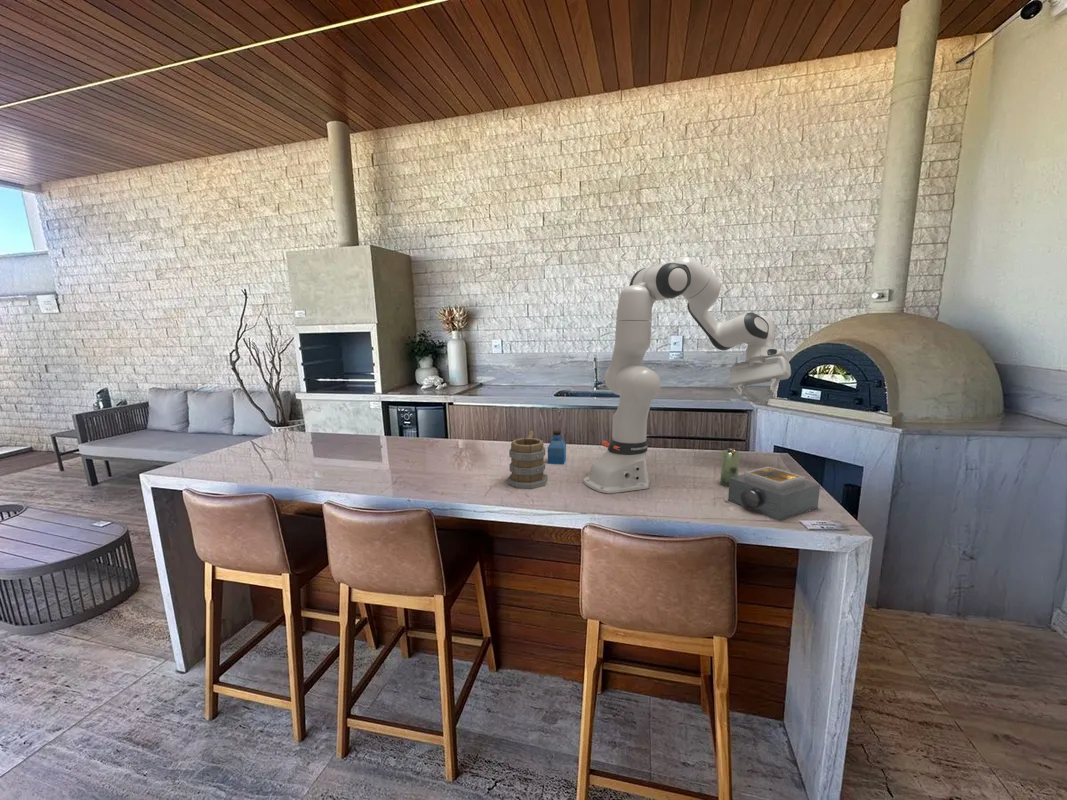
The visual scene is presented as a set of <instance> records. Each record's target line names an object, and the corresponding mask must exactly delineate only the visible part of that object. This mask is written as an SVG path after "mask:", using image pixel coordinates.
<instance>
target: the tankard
mask: <svg viewBox="0 0 1067 800" xmlns="http://www.w3.org/2000/svg"><path fill="white" fill-rule="evenodd" d="M527 436H528V437H525V438H524V437H521V438H516V439H513V440H512V442H511V443H510V449H509V451H508V454H509V455H508V457H509V458H511V460H510V461H511V462H510V463H509V472H511V473H510V475H509V476H508V478H507V484H508V485H510V486H512V487H514V488H516V489H527V490H528V489H530V490H531V489H532V490H533V489H537V488H540V487H544V486H546V484H547V482H548V475H547V474H544V473H545V470H546V461H544V457H545V455H546V447H544V440H542V439H539V438H536V437H535V431H534V430H529V432H528V435H527Z"/></svg>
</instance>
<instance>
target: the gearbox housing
mask: <svg viewBox="0 0 1067 800" xmlns="http://www.w3.org/2000/svg"><path fill="white" fill-rule="evenodd" d="M820 489H821V484H819V483H816V482H812V481H809V480H806V476H803V475H801V474H800V475H799V474H796V473H793V472H790V471H786V470H782V469H779V468H776V467H773V466H764V467H759V468H755V469H751V470H748V471H744V474H740V475H739V474H738V476H735V477H731V478H730V481H729V487H728V499H727V500H728V502H731V503H734V504H736V505H739V506H741V507H744V508H746V509H749V510H751V511H754V512H757V513H759V514H762V515H764V516H767V517H769V518H771V519H774V520H777V521H780V522H781V521H783V520H784V521H785V520H786V519H790V518H793V517H796V516H799V515H801V513H802V514H804V512H805V513H808V512H810V511H809V510H811V511H814V510H816V508H817V509H818V508H819V499H820V498H819V497H820V491H821V490H820ZM813 509H814V510H813ZM807 511H808V512H807ZM798 514H799V515H798ZM795 515H796V516H795ZM792 516H793V517H792Z"/></svg>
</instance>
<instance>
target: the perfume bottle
mask: <svg viewBox="0 0 1067 800" xmlns="http://www.w3.org/2000/svg"><path fill="white" fill-rule="evenodd" d="M561 433H562V431H561V430H557V429H556V430H552V439H551V440H550V442H549V444H548V446H547V464H550V465H565V463H566V461H567V443H566V442H565V440H564V438H562V434H561Z"/></svg>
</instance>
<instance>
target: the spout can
mask: <svg viewBox="0 0 1067 800" xmlns="http://www.w3.org/2000/svg"><path fill="white" fill-rule="evenodd" d="M740 455H741V452H740V451H737V450H735V448H732V447H730V448H729V447H727V449H723V450H721V462H720V464H721V465H720V479H719V485H721V486H723V487H725V486H726V487H725V488H729V481H730V478H731V477H735V476H739V469H740Z"/></svg>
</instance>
